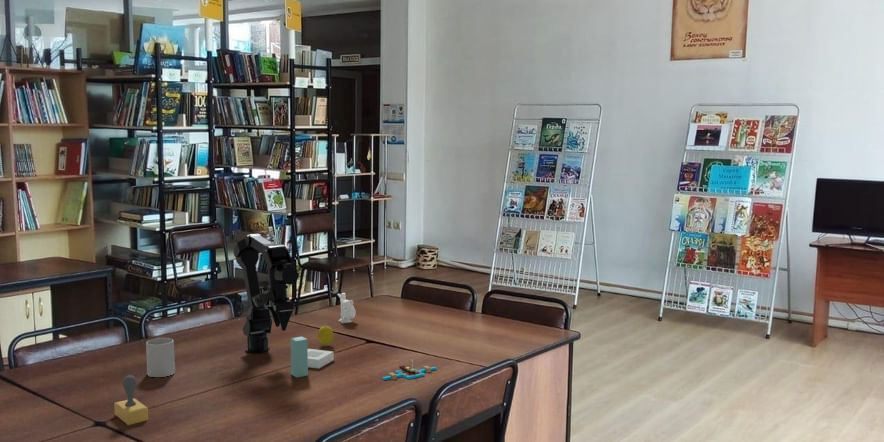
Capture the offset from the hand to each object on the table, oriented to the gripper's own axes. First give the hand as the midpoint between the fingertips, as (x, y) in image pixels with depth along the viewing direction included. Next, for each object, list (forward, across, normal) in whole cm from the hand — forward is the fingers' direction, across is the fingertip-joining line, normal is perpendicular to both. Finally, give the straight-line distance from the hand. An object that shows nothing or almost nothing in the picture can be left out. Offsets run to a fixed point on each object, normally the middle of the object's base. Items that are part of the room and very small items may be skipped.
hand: (280, 328), depth 259 cm
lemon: (+12, -16, +20) cm, 28 cm away
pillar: (+14, +12, +2) cm, 19 cm away
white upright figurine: (+9, -47, +37) cm, 60 cm away
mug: (+11, -8, -38) cm, 41 cm away
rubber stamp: (+14, +30, -49) cm, 59 cm away
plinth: (+13, +2, +10) cm, 16 cm away
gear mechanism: (+16, +26, +35) cm, 47 cm away
